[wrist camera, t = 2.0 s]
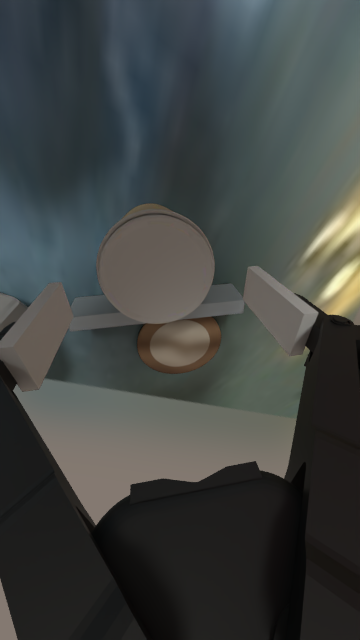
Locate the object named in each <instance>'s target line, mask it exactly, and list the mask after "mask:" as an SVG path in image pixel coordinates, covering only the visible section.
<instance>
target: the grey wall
mask: <svg viewBox="0 0 360 640" xmlns="http://www.w3.org/2000/svg"><path fill="white" fill-rule="evenodd" d="M244 304H245V302H244V300H243V297H242V295H241V294H240V293H239V292H238V290H237V289H236V288H235V287H234V286H233V284H232V283H230V284H219V285H211V287H210V290H209V292H208V294H207V295H206V297H205V299H204V300H203V301H202V303H201V304H200V305H199V306H198V307H197V308H196V309H195V310H194V311H193V312H191V313H190V314H188V315H187V316H185V317H183V318H181V319H179V320H182V319H192V318H201V317H210V316H220V315H229V314H239V313H243V310H244ZM70 308H71V310H72V313H73V316H74V317H73V319H72V321H71V323H70V325H69V329H70V331H80V330H89V329H98V328H108V327H117V326H126V325H136V324H145V323H143V322H139V321H136V320H134V319H131V318H129V317H127V316H126V315H124V314H123V313H121V312H120V311H118V310H117V309H116V308H115V307H114V306H113V305H112V304H111V303H110V301H109V300H108V299H107V297H106V296H105V295H97V296H86V297H75V299H74V301H73V303H72V305H71V307H70Z"/></svg>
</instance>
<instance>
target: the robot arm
mask: <svg viewBox="0 0 360 640" xmlns="http://www.w3.org/2000/svg"><path fill="white" fill-rule="evenodd" d="M243 300H244V302H245V303H246V304H247V305H248V307H249V308H250V309H251V310H252V311H253V313H254V314H255V315H256V316H257V317H258V319H259V320H260V321H261V322H262V323H263V325H264V326H265V327H266V328H267V329H268V331H269V332H270V333H271V334H272V336H273V337H274V338H275V339H276V340H277V342H278V343H279V344H280V345H281V346H282V348H283V349H284V350H285V351H286V352H287V354H288V355H289V356H294V355H301V354H303V351H304V349H305V346H306V347H307V348H308V349H309V350H310V352H309V355H308V357H307V359H306V362H305V364H304V366H306V370H305V376H304V381H303V387H302V393H301V398H300V404H299V409H298V415H297V421H296V426H295V433H294V438H293V443H292V449H291V455H290V460H289V465H288V469H287V472H286V475H285V478H284V479H283V478H281V477H279V476H277V475H275V474H272V473H269V472H265V471H260V470H259V468H258V465H257V463H256V461H254V462H249V463H244V464H238V465H233V466H228V467H225V468H224V469H221V470H220V471H218V472H216V473H214V474H212V475H210V476H209V477H207V478H205V479H203V480H201V481H199V482H186V481H178V480H170V479H158V480H153V481H148V482H142V483H137V484H132V485H131V489H130V490H131V492H130V495H129V496H127V497H125V498H124V499H122V500H121V501H119V502H118V503H117V504H116V505H114V506H113V507H112V508H111V509H110V510H109V511H108V512H107V513H106V514H105V515H104V516H103V517H102V519H101V520H100V521H99V523H98V524H97V525H95V523H94V522H93V520H92V519H91V517H90V516H89V514H88V513H87V511H86V510H85V509H84V507H83V505H82V504H81V502H80V500H79V499H78V497H77V495H76V494H75V492H74V491H73V489H72V487H71V486H70V484H69V482H68V481H67V479H66V477H65V476H64V474H63V472H62V471H61V469H60V467H59V466H58V464H57V462H56V461H55V459H54V457H53V456H52V454H51V452H50V451H49V449H48V448H47V446H46V444H45V443H44V441H43V440H42V438H41V436H40V434H39V433H38V431H37V430H36V428H35V426H34V424H33V423H32V421H31V419H30V418H29V416H28V414H27V413H26V411H25V409H24V408H23V406H22V405H21V403H20V401H19V400H18V398H17V396H16V395H15V393H14V392H13V389H14V388H15V386H16V384H17V385H18V386H19V387H20V389H21V390H22V392H24V391H31V390H39V388H40V386H41V384H42V382H43V380H44V378H45V376H46V374H47V372H48V370H49V368H50V365H51V363H52V361H53V359H54V357H55V355H56V353H57V351H58V349H59V347H60V344H61V342H62V340H63V338H64V336H65V334H66V332H67V330H68V328H69V325H70V323H71V321H72V319H73V317H74V316H73V313H72V310H71V308H70V305H69V302H68V299H67V297H66V294H65V291H64V288H63V286H62V283H61V282H56V283H49V284H48V285H47V286H46V287H45V289H44V290H43V291H42V292H41V293H40V294H39V296H38V297H37V298H36V299H35V300H34V302H33V303H32V304H31V305H30V306H29V307H28V309H27V310H26V311H25V312H24V313H23V314H22V316H21V317H20V318H19V319H18V320H17V322H12V323H11V324H9V325H8V326H6V327H5V328H3V330H2V331H1V332H0V579H1V582H2V586H3V589H4V593H5V596H6V600H7V603H8V607H9V610H10V614H11V617H12V621H13V624H14V628H15V631H16V635H17V638H18V640H360V325H354V323H353V322H352V321H351V320H349V319H347V318H345V317H342V316H339V315H327V314H326V313H324V312H323V311H322V310H320V309H319V308H318V307H316V306H315V305H313V304H312V303H311V302H309V301H308V300H307V299H305V298H304V297H303V296H300V295H298V294H296V293H292V292H291V291H290V290H289V289H287V288H286V287H285V286H283V285H282V284H281V283H279V282H278V281H277V280H276V279H274V278H273V277H272V276H270V275H269V274H268V273H266V272H265V271H264V270H263V269H261V268H260V267H259V266H250V267H248V270H247V276H246V282H245V289H244V295H243Z"/></svg>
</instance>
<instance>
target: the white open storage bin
mask: <svg viewBox="0 0 360 640" xmlns="http://www.w3.org/2000/svg"><path fill="white" fill-rule="evenodd" d="M27 309H28V306H26V305H25V304H23V303H22V302H20V301H19V300H17V299H16V298H14V297H12V296H9V295H6V294H3V293H1V292H0V332H1V331H2V330H3V328H5V327H6V326H8V325H9V324H11V323H12V322H17V320H18V319H19V318H20V317H21V316H22V314H23V313H24V312H25V311H26V310H27Z"/></svg>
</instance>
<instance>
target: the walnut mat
mask: <svg viewBox="0 0 360 640" xmlns="http://www.w3.org/2000/svg"><path fill="white" fill-rule="evenodd" d="M220 342H221V332H220V329H219V326H218V324H217V322H216V321H215V319H214V318H213V317H212V316H210V317H201V318H192V319H182V320H176V321H173V322H169V323H163V324H149V323H145V324H144V325H143V326H142V328H141V330H140V332H139V335H138V341H137V348H138V353H139V355H140V357H141V359H142V360H143V362H144V363H145V364H146V365H148V366H149V367H150V368H152V369H154V370H156V371H159V372H163V373H169V374H179V373H185V372H189V371H192V370H195V369H197V368H199V367H201V366H203V365H204V364H206V363H207V362H208V361H209V360H211V359H212V357H213V356H214V355H215V354H216V352H217V350H218V348H219V346H220Z"/></svg>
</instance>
